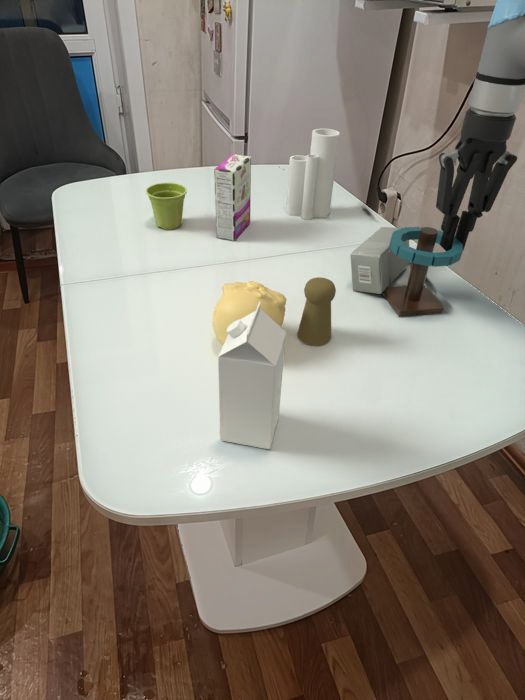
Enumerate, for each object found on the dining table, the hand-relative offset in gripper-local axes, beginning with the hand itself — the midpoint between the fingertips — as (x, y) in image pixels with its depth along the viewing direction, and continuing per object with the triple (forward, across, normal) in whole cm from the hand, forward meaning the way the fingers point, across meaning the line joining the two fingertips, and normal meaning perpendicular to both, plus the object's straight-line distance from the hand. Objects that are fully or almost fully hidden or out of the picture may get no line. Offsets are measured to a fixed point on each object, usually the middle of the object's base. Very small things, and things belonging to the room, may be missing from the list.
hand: (451, 247), depth 94 cm
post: (+12, +5, 0) cm, 13 cm away
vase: (+12, +14, -44) cm, 48 cm away
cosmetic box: (+7, +14, -4) cm, 17 cm away
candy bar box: (+12, +35, -36) cm, 52 cm away
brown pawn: (+12, +27, +8) cm, 31 cm away
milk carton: (+12, +42, +28) cm, 52 cm away
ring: (0, +5, 0) cm, 5 cm away
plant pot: (+12, +50, -41) cm, 66 cm away
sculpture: (+12, +39, +8) cm, 42 cm away
